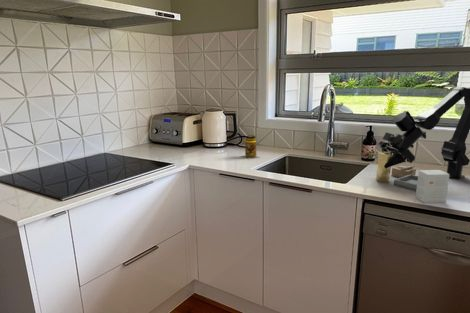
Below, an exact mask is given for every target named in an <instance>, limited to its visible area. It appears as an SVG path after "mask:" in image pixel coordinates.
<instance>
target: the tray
mask: <svg viewBox="0 0 470 313" xmlns="http://www.w3.org/2000/svg"><path fill="white" fill-rule="evenodd" d="M417 181H418V175H416V174H415V175H411V174H410V175H407V176H404V177H401V178H400V177H396V178H395V179H394V181H393V185H394V186H397V187H401V188H405V189H409V190H413V191H416V190H417Z"/></svg>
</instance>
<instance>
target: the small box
mask: <svg viewBox="0 0 470 313" xmlns="http://www.w3.org/2000/svg"><path fill="white" fill-rule="evenodd" d="M417 173H418V174H417V176H418V181H417V190H415V198H416V199H417V200H419V201H420V202H422V203H424V204H430V203H432V204H433V203H446V202H447V196H448V189H449V188H448V187H449V182H450V177H449V175H450V174H448V173H446V171H443V170H441V169H426V170H425V169H421V170H418V172H417Z"/></svg>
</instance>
